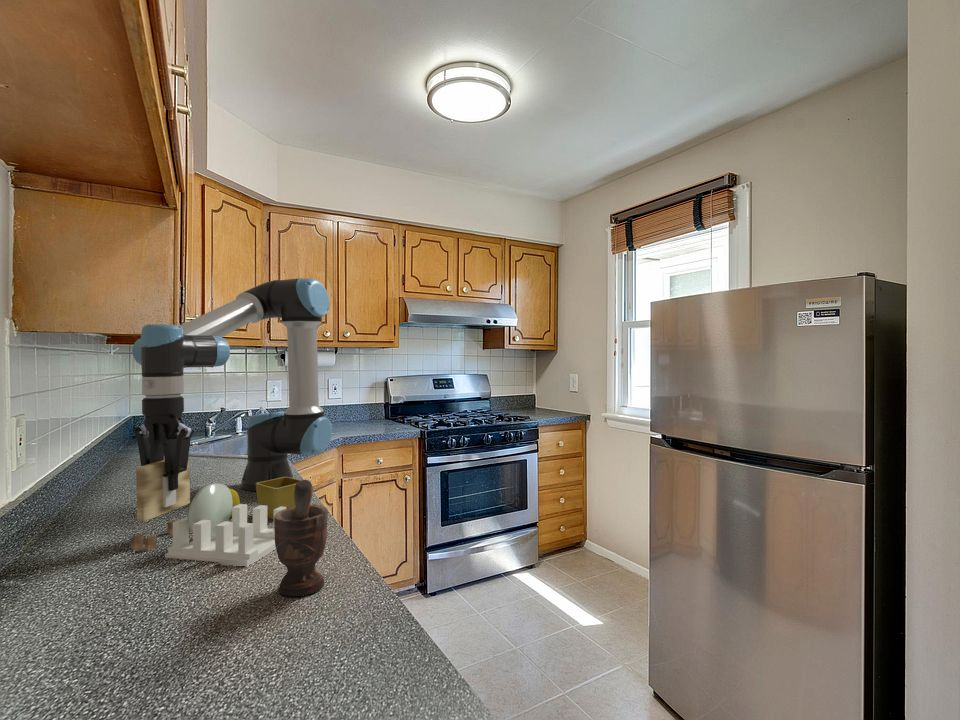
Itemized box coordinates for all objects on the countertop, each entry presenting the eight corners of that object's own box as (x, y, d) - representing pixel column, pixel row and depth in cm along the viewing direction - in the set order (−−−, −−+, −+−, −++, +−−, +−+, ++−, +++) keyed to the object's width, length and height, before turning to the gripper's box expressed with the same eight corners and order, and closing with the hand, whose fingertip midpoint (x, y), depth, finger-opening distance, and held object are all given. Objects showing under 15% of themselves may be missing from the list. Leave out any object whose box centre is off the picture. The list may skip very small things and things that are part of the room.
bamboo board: (183, 502, 108) (183, 454, 108) (190, 503, 108) (189, 455, 108) (137, 521, 97) (136, 467, 96) (143, 521, 96) (142, 467, 96)
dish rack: (220, 533, 108) (220, 501, 108) (292, 538, 104) (292, 506, 104) (165, 560, 93) (165, 523, 93) (246, 567, 90) (247, 529, 90)
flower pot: (306, 516, 120) (306, 480, 120) (275, 526, 113) (275, 488, 113) (285, 510, 125) (285, 476, 125) (254, 519, 117) (254, 483, 117)
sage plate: (226, 527, 105) (227, 477, 105) (232, 527, 105) (232, 478, 105) (187, 546, 94) (188, 491, 94) (193, 546, 94) (194, 491, 94)
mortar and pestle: (344, 595, 79) (345, 475, 79) (293, 613, 73) (293, 484, 73) (314, 572, 87) (315, 464, 87) (266, 588, 81) (266, 471, 82)
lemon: (228, 524, 114) (229, 491, 114) (208, 522, 115) (209, 489, 115) (244, 517, 119) (244, 485, 119) (225, 515, 120) (225, 484, 120)
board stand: (174, 533, 107) (174, 519, 107) (190, 534, 107) (190, 521, 107) (130, 552, 97) (130, 537, 97) (148, 553, 96) (148, 538, 96)
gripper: (118, 397, 100) (120, 508, 100) (178, 398, 97) (180, 512, 97) (149, 394, 107) (150, 497, 107) (206, 394, 104) (207, 501, 105)
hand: (164, 504), depth 102 cm, fingers closed on bamboo board, 2 cm apart
